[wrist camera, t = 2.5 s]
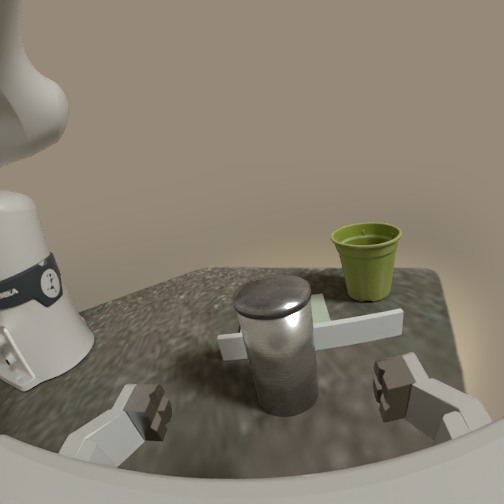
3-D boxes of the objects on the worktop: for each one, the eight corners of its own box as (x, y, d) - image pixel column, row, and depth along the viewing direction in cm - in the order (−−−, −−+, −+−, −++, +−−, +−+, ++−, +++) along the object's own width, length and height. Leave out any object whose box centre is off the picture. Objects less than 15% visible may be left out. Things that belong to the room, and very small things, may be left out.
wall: (223, 360, 33) (217, 339, 32) (224, 356, 34) (218, 335, 33) (401, 334, 31) (403, 312, 30) (399, 330, 32) (400, 308, 31)
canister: (255, 420, 24) (227, 316, 21) (258, 377, 30) (236, 280, 26) (322, 413, 23) (315, 305, 20) (316, 370, 29) (306, 270, 25)
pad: (238, 349, 35) (237, 346, 35) (245, 306, 44) (244, 304, 44) (334, 337, 33) (334, 334, 33) (322, 295, 43) (322, 293, 43)
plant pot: (367, 318, 35) (365, 251, 33) (322, 292, 44) (316, 234, 41) (414, 290, 38) (415, 230, 36) (369, 271, 47) (366, 218, 44)
